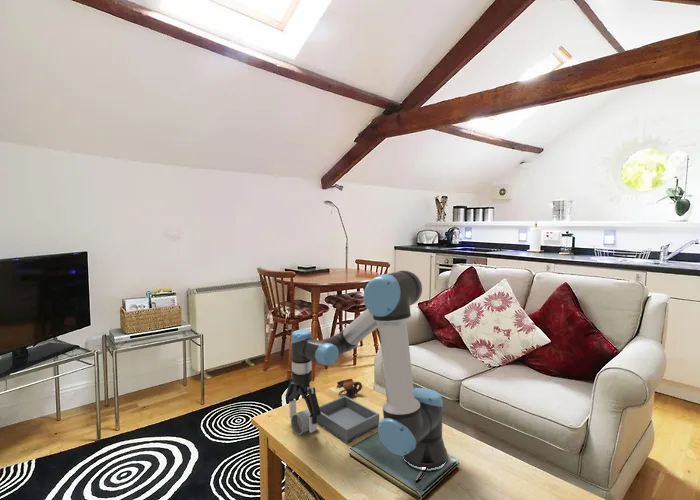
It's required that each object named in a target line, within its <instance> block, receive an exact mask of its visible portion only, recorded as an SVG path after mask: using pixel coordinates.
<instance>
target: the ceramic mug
mask: <svg viewBox="0 0 700 500" xmlns="http://www.w3.org/2000/svg"><path fill="white" fill-rule="evenodd" d="M309 415H311V414H310V412H309V409H308V408H307V409H304V410H302V411H299V412H296V413H295V414H293V415H292V417H291V418H290V424H291V428H292V430H293V432H294V433H295V435H298V436H301V435H303V434H304V433H307V432H308V431H309ZM317 422H318V418H317ZM316 426H318V423H316Z"/></svg>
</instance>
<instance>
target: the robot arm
mask: <svg viewBox="0 0 700 500" xmlns="http://www.w3.org/2000/svg"><path fill="white" fill-rule="evenodd" d="M422 293H423V285H422V282H421V279H420V278H419V277H418V276H417V275H416V273H414V272H412V271H409V270H399V271H396V272H389V273H385V274H380V275H378V276H375V277H374V278H371V280H369V281H368V283H367V284H366V286H365V288H364V292H363V303H364V305H365V308H366V309H365V310H364V311H363V312H362V313H361V314H360V315H358V316H356V318H355V319H354V320H353V321H352V322H351V323H349V324H348V325H346V326H345V327H344V329H342V330H341V331H340V332H338V333H337V334H335V335H333V336H330V337H328V338H324V339H321V340H319V339H314V338H313V337H312V332H311V330H308V329H298V330H297V329H296V330H295V331H293V332H292V333H291V338H290V339H291V341H290V345H291V378H289V384H288V386H287V390H286V393H285V397H286V399H287V401H288V404H289V405H288V407H289V418H290V419H291V417H292V415H293V414H295V413H297V400H296V399H297V396H298V395H300V396H301V397H302V399H303V400H304V401H305V404H306V406H307V409H309V412H310V414H311V415H309V430H308V431H309V433H313V432H315V431H317V426H318V425H316V423H317V416H318V415H320V414H321V412H320V408H319V406H320V405H319V402H318V401H319V400H318V398H317V394H316V387H311V384H310V383H311V381H312V380H313V371H312V370H313V369H312V368H313V367H312V361H313V362H316V363H318V364H320V365H325V366H332V365H334V364H335V362H336V361H337V360H338V357H339V356H340V355H344V354H345V353H347V352H350V351H353V350H354V349H356V348H357V346H358V344H359V343H360V342H361V341H363V340H364V339H365V338H366V337H368V336H369V335H371V333H373V332H374V331H375V330H376V329H378V330H379V341H380V347H381V349H380V350H381V355H382V356H381V357H382V368H383V375H384V378H383V379H384V386H385V387H384V388H385V394H386V400H385V401H384V403H382V412H383V413H382V415H383V418H382V419H380V421H379V425H378V427H377V434H378V437H379V440H380V441H381V443H382V445H383V446H384V447H385V448H386V449H387V450H388V451H390V452H391V453H392V454H395V455H397V456H402V455H403V457H404V459H405V460H406V461H407V462H409V463H410V464H412V465H414V466H417V467H426V468H428V469H431V468H435V467H439V466H441V465H442V464H444V463H445V462H446V460H447V461H448V451H447V448H446V447H445V442H444V439H443V417H444V416H443V412H444V411H443V410H444V409H443V408H444V404H443V397H442V395H441V394H440V393H439V392H438V391H436V390H433V389H429V388H425V387H424V388H423V387H415V388H414V380H413V372H412V369H413V368H412V361H411V352H410V343H409V333H408V321H409V320H410V318H412V314H411V312H412V311H411V306H412V305H414V304H415V303H417V302H418V301H419V300H420V299H421V297H422ZM317 424H318V423H317Z"/></svg>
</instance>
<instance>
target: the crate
mask: <svg viewBox="0 0 700 500" xmlns="http://www.w3.org/2000/svg"><path fill="white" fill-rule="evenodd" d="M319 408H320V412H321V414H320V415H318V416H317V418H318V422H317V425H319V426H321V427H322V428H324V429H325V430H327V431H328V432H330V433H332V434H333V435H334V436H336V437H337V438H338V439H340V440H342V442H344V443H346V444H348V443H350V442H352V441H354V440H356V439H358V438H360V437H362V436H364V435H366V434H367V433H369V432H371V431H373V430H375V429H378V425H379V423H380V413H378V412H376V411H375V410H374V409H373V410H372V409H370V408H369V407H367V406H365V405H363V404H362V403H360V402H357V401H355V400H353V398H348V397H347V396H343V395H342V396H341V397H338V398H336V399H334V400H332V401H329V402H326V403H324V404H321V405H319Z"/></svg>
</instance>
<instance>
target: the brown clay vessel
mask: <svg viewBox="0 0 700 500" xmlns="http://www.w3.org/2000/svg"><path fill="white" fill-rule="evenodd" d="M336 383H337V385H336V388H335V389H336V390H338V389H341V388H343V389H344V390H345V393H343V394H342V397H343V396H347V397H348V398H350V399H354V398H356V395H357V394H358V393H359V392H360V391H362V389H363V384H362V383H361V382H360V381H354V380H353V378H347V379H343V380H340V381H337V382H336Z"/></svg>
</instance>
